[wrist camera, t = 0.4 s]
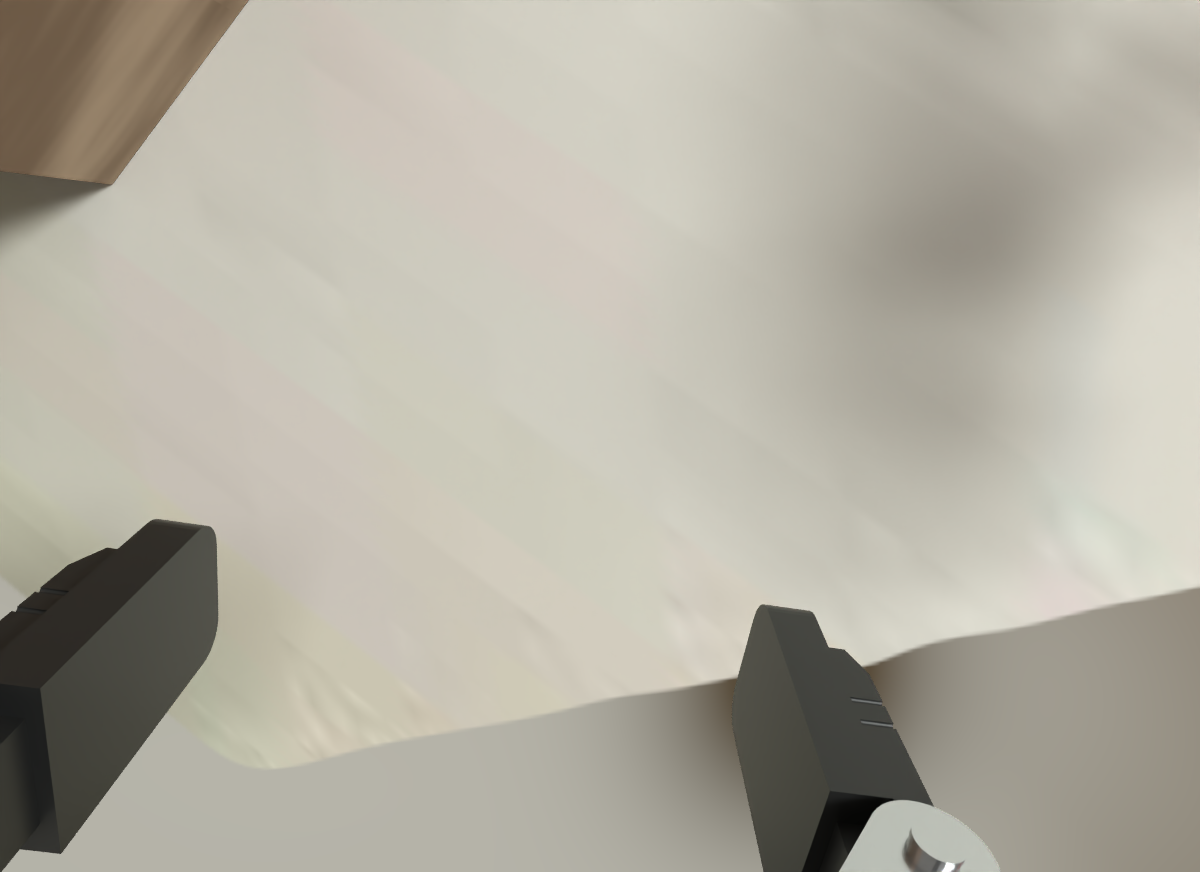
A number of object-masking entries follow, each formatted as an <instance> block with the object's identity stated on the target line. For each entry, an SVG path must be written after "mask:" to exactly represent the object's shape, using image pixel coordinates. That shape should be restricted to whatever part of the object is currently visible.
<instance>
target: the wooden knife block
mask: <svg viewBox="0 0 1200 872" xmlns="http://www.w3.org/2000/svg"><path fill="white" fill-rule="evenodd" d="M247 2H248V0H0V171H4V172H12V173H20V174H29V175H37V176H45V177H53V178H62V179H70V180H78V181H87V182H95V183H103V184H113V183H114V181H115V180H116V179H117V177H118V176H119V175H120V173H121V172H122V171H123V169H124V168H125V167H126V165H127V164H128V163H129V161H130V160H131V159H132V157H133V156H134V154H135V153H136V152H137V150H138V149H139V148H140V146H141V145H142V144H143V142H144V141H145V140H146V138H147V137H148V136H149V134H150V133H151V131H152V130H153V129H154V127H155V126H156V125H157V123H158V122H159V121H160V119H161V118H162V117H163V115H164V114H165V113H166V111H167V110H168V108H169V107H170V106H171V104H172V103H173V102H174V100H175V99H176V98H177V96H178V95H179V94H180V92H181V91H182V90H183V88H184V87H185V86H186V84H187V83H188V81H189V80H190V79H191V77H192V76H193V75H194V73H195V72H196V71H197V69H198V68H199V67H200V65H201V64H202V63H203V61H204V60H205V58H206V57H207V56H208V54H209V53H210V52H211V50H212V49H213V48H214V46H215V45H216V44H217V42H218V41H219V40H220V38H221V37H222V35H223V34H224V33H225V31H226V30H227V29H228V27H229V26H230V25H231V23H232V22H233V21H234V19H235V18H236V17H237V15H238V14H239V12H240V11H241V10H242V8H243V7H244V6H245V4H246V3H247Z"/></svg>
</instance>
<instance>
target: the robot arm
mask: <svg viewBox="0 0 1200 872" xmlns="http://www.w3.org/2000/svg"><path fill="white" fill-rule="evenodd" d="M217 626H218V583H217V543H216V535H215V532H214V530H213V529H212V528H211V527H209V526H204V525H197V524H189V523H182V522H175V521H168V520H161V519H154V520H152V521H150V522H149V523H147V524H146V525H145V526H144V527H143V528H141V529H140V530H139V531H138V532H137V533H136V534H135V535H133V536H132V537H131V538H130V539H129V540H128V541H126V542H125V543H124V544H123V545H122V546H121V547H120V548H118V549H113V548H105V549H103V550H101V551H99V552H96V553H94V554H92V555H89V556H87V557H85V558H83V559H80V560H78V561H76V562H74V563H71V564H69V565H68V566H66V567H65V568H64V569H63V570H61V571H60V572H59V573H58V574H57V575H55V576H54V577H53V578H52V579H50V580H49V581H48V582H47V583H46V584H44V585H43V586H42V587H41V589H40V592H34V593H33V594H32V595H31V596H30V597H28V598H27V599H26V600H25V601H23V602H22V603H21V604H20V605H19V606H18V608H17V611H16V612H13V611H11V612H10V613H9V614H8V615H6V616H5V617H4V618H3V619H1V621H0V872H2V870H3V869H4V868H5V867H6V865H7V864H8V863H9V862H10V860H11V859H12V858H13V857H14V856H15V854H16V853H17V852H18V851H19V849H23V850H33V851H41V852H50V853H59V854H61V853H62V852H63V850H64V849H65V848H66V847H67V845H68V844H69V842H70V841H71V840H72V838H73V837H74V836H75V834H76V833H77V832H78V830H79V829H80V828H81V826H82V825H83V824H84V822H85V821H86V820H87V818H88V817H89V816H90V814H91V813H92V812H93V810H94V809H95V807H96V806H97V805H98V804H99V802H100V801H101V800H102V798H103V797H104V796H105V794H106V793H107V792H108V790H109V789H110V788H111V786H112V785H113V784H114V782H115V781H116V780H117V778H118V777H119V775H120V774H121V773H122V772H123V770H124V769H125V767H126V766H127V765H128V763H129V762H130V761H131V759H132V758H133V757H134V755H135V754H136V753H137V751H138V750H139V749H140V747H141V746H142V745H143V743H144V742H145V741H146V739H147V738H148V737H149V735H150V734H151V733H152V731H153V730H154V729H155V727H156V726H157V725H158V723H159V722H160V721H161V719H162V718H163V717H164V715H165V714H166V713H167V711H168V710H169V709H170V707H171V706H172V705H173V703H174V702H175V700H176V699H177V698H178V696H179V695H180V694H181V692H182V691H183V690H184V688H185V687H186V686H187V684H188V683H189V682H190V680H191V679H192V678H193V676H194V675H195V674H196V672H197V671H198V670H199V668H200V667H201V666H202V664H203V663H204V661H205V660H206V658H207V656H208V655H209V652H210V650H211V648H212V645H213V642H214V639H215V635H216V631H217ZM732 725H733V733H734V737H735V742H736V746H737V751H738V756H739V760H740V765H741V770H742V774H743V779H744V783H745V788H746V793H747V797H748V802H749V806H750V811H751V816H752V820H753V825H754V830H755V834H756V839H757V843H758V848H759V853H760V857H761V862H762V866H763V871H764V872H1001V871H1000V868H999V865H998V863H997V861H996V859H995V857H994V856H993V854H992V853H991V851H990V850H989V848H988V847H987V846H986V844H985V843H984V842H983V841H982V840H981V839H980V838H979V837H978V836H977V835H976V834H975V833H974V832H973V831H972V830H971V829H970V828H968V827H967V826H966V825H965V824H963V823H962V822H961V821H959V820H958V819H956V818H955V817H953V816H951V815H950V814H948V813H946V812H944V811H942V810H940V809H938V808H935V807H934V806H933V804H932V802H931V800H930V798H929V795H928V794H927V791H926V789H925V787H924V785H923V783H922V781H921V780H920V777H919V775H918V773H917V771H916V769H915V767H914V765H913V763H912V761H911V759H910V757H909V755H908V753H907V750H906V748H905V746H904V744H903V743H902V740H901V738H900V736H899V734H898V732H897V730H896V729H893V722H892V720H891V718H890V716H889V714H888V712H887V710H886V708H885V707H884V706H882V699H881V698H880V695H879V693H878V691H877V689H876V687H875V685H874V683H873V681H872V679H871V677H870V675H869V674H868V673H867V672H866V671H865V670H864V669H863V668H862V667H861V666H860V665H859V664H858V663H857V662H856V661H855V660H854V659H853V658H852V657H851V656H850V655H849V654H848V653H847V652H846V651H845V650H843V649H836V648H829V647H828V645H827V643H826V640H825V638H824V636H823V633H822V631H821V629H820V626H819V624H818V622H817V620H816V617H815V615H814V614H813V613H812V612H811V611H807V610H799V609H792V608H785V607H778V606H771V605H761V606H759V608H758V609H757V611H756V614H755V617H754V620H753V623H752V627H751V631H750V634H749V638H748V642H747V645H746V649H745V653H744V656H743V660H742V664H741V667H740V671H739V675H738V678H737V682H736V686H735V690H734V696H733V705H732Z"/></svg>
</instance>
